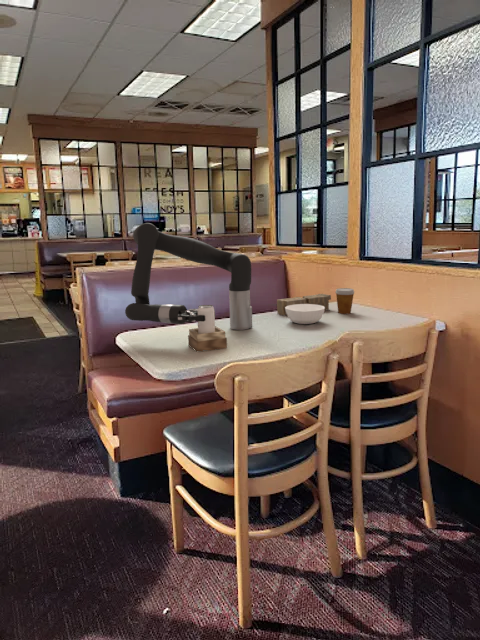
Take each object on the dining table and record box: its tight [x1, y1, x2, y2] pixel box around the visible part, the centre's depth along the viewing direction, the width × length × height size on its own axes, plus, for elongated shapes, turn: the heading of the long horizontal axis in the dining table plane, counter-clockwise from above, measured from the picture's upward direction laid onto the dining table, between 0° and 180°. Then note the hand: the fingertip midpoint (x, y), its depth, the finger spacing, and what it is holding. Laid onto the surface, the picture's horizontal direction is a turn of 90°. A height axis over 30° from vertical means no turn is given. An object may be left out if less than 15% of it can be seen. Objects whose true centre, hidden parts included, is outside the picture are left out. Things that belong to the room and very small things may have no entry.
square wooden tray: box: [188, 325, 227, 341], centre depth 188 cm, size 11×11×2 cm
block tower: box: [276, 293, 332, 316], centre depth 253 cm, size 8×8×29 cm
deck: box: [187, 335, 228, 352], centre depth 189 cm, size 12×11×4 cm
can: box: [197, 304, 216, 334], centre depth 187 cm, size 6×6×12 cm
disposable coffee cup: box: [335, 287, 355, 315], centre depth 246 cm, size 10×10×12 cm
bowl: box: [285, 304, 325, 325], centre depth 227 cm, size 18×18×7 cm
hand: (209, 316), depth 186 cm, fingers open, 8 cm apart
